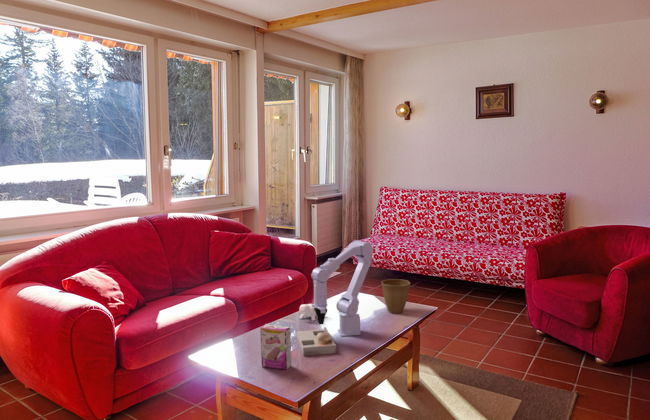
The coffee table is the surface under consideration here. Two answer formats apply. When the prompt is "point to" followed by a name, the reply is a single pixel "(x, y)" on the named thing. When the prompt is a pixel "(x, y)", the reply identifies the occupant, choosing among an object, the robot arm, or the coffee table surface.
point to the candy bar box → (276, 346)
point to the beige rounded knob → (323, 338)
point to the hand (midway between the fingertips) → (320, 323)
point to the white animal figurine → (307, 311)
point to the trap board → (314, 343)
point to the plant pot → (395, 294)
